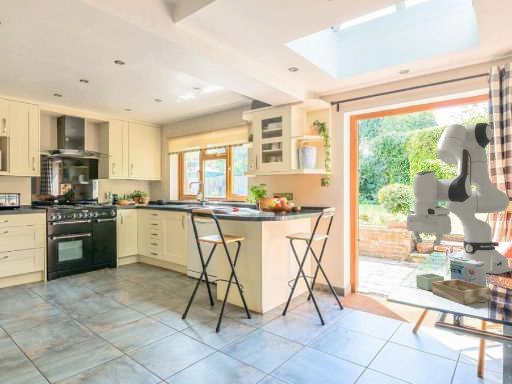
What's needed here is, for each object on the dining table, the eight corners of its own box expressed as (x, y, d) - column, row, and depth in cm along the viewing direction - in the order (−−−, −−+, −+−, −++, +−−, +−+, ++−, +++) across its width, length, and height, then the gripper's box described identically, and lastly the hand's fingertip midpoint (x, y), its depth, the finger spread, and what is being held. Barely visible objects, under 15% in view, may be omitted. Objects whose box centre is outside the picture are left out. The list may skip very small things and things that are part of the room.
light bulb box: (450, 285, 131) (449, 259, 131) (460, 282, 134) (459, 257, 134) (476, 291, 121) (475, 263, 122) (487, 289, 124) (486, 261, 124)
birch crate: (458, 290, 123) (457, 278, 124) (490, 300, 111) (490, 287, 111) (432, 293, 120) (432, 282, 120) (463, 304, 108) (462, 291, 108)
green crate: (432, 285, 132) (431, 273, 132) (444, 288, 126) (443, 276, 126) (416, 287, 130) (416, 275, 130) (428, 291, 124) (427, 278, 124)
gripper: (402, 209, 138) (403, 241, 138) (440, 210, 118) (441, 247, 118) (413, 209, 140) (415, 240, 139) (453, 210, 120) (455, 246, 119)
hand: (427, 243), depth 128 cm, fingers open, 8 cm apart
